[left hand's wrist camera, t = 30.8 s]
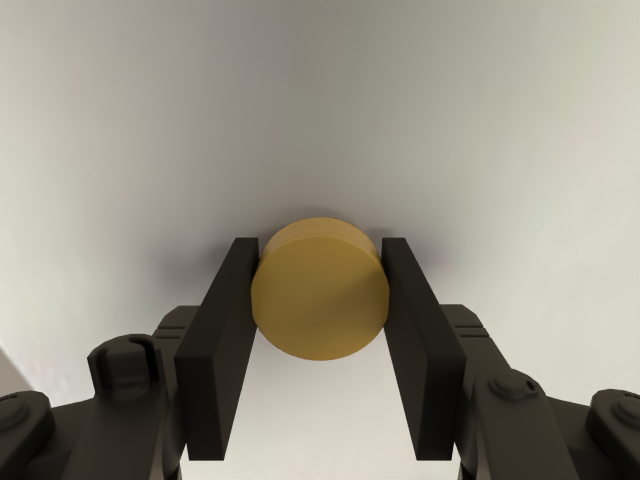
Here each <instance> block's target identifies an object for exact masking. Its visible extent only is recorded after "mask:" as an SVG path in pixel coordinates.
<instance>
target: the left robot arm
mask: <svg viewBox="0 0 640 480" xmlns="http://www.w3.org/2000/svg"><path fill="white" fill-rule="evenodd" d="M381 261H382V264H383V267H384V270H385V273H386V276H387V279H388V282H389V286H390V291H389V306H388V317H387V320H386V322H385V324H384V326H383V328H384V332H385V336H386V340H387V344H388V348H389V352H390V356H391V360H392V364H393V368H394V372H395V376H396V380H397V384H398V388H399V391H400V395H401V399H402V403H403V407H404V411H405V415H406V419H407V423H408V427H409V431H410V435H411V439H412V443H413V447H414V451H415V455H416V459H417V461H451V460H452V453H453V446H454V441H455V444H456V447H457V450H458V452H459V455H460V458H461V462H460V468H459V474H458V480H640V395H638V394H635V393H631V392H628V391H625V390H616V389H606V390H601V391H598V392H597V393H596V394H595V395H593V397H592V400H591V403H590V406H586V405H581V404H577V403H572V402H567V401H563V400H559V399H555V398H552V397H548V396H546V394H545V392H544V391H543V389H542V388H541V386H540V385H539V383H537V382H536V381H535V380H533V379H532V378H531V377H530V376H528V375H526V374H524V373H522V372H520V371H518V370H515V369H511V367H510V366H509V364H508V363H507V361H506V360H505V358H504V357H503V355H502V354H501V352H500V351H499V349H498V348H497V346H496V344H495V343H494V341H493V340H492V338H490V337H489V334H488V332H487V331H486V329H485V328H483V325H482V323H481V322H480V320H479V318H478V317H477V315H476V314H475V313H473V312H472V311H470V310H469V309H468V308H466V307H465V306H463V305H462V304H439V303H438V301H437V299H436V297H435V295H434V293H433V291H432V289H431V287H430V285H429V283H428V282H427V280H426V278H425V276H424V274H423V272H422V270H421V268H420V266H419V264H418V262H417V261H416V259H415V257H414V255H413V253H412V251H411V249H410V247H409V245H408V243H407V241H406V239H405V238H382V254H381ZM258 262H259V246H258V238H235V240H234V242H233V244H232V246H231V248H230V250H229V252H228V254H227V256H226V258H225V260H224V261H223V263H222V265H221V267H220V269H219V271H218V273H217V275H216V277H215V279H214V281H213V282H212V284H211V286H210V288H209V290H208V292H207V294H206V296H205V298H204V300H203V302H202V304H201V305H200V306H178V307H176V308H175V309H173V310H172V311H171V312H169V313H168V314H166V315H165V316H164V318H163V319H162V321H161V322H160V324H159V326H158V328H157V329H156V330H155V332H154V333H153V335H152V336H150V335H146V334H129V335H124V336H119V337H116V338H113V339H111V340H108V341H106V342H104V343H102V344H101V345H99V346H98V347H96V348H95V349H94V350H93V351H92V352H91V353H90V355H89V356H88V357H87V360H88V364H89V369H90V373H91V377H92V381H93V385H94V389H95V395H94V398H91V399H88V400H85V401H81V402H76V403H72V404H67V405H63V406H58V407H54V408H51V405H50V401H49V398H48V397H47V396H46V395H45V394H43V393H42V392H37V391H23V392H16V393H13V394H9V395H6V396H3V397H0V480H182V475H181V468H180V462H179V461H180V459H181V456H182V453H183V450H184V448H185V445H186V443H187V450H188V456H189V461H224V457H225V453H226V449H227V445H228V441H229V437H230V433H231V429H232V425H233V421H234V417H235V413H236V409H237V405H238V401H239V397H240V393H241V389H242V385H243V381H244V377H245V373H246V369H247V365H248V361H249V357H250V353H251V349H252V345H253V341H254V337H255V333H256V329H257V325H256V323H255V321H254V318H253V314H252V299H251V284H252V280H253V277H254V274H255V271H256V268H257V265H258Z"/></svg>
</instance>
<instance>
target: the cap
mask: <svg viewBox="0 0 640 480" xmlns="http://www.w3.org/2000/svg"><path fill="white" fill-rule="evenodd" d="M389 291H390V286H389V282H388V279H387V276H386V273H385V270H384V267H383V264H382V261H381V258H380V255H379V253H378V251H377V249H376V247H375V245H374V244H373V243H372V241H371V240H370V239H369V238H368V237H367V236H366V235H365V234H364V233H363V232H362V231H361V230H359V229H358V228H357V227H355V226H353V225H351V224H349V223H347V222H344V221H342V220H338V219H334V218H327V217H313V218H306V219H302V220H299V221H296V222H294V223H291V224H289V225H287V226H286V227H284V228H282V229H281V230H280V231H278V232H277V233H276V234H275V235H274V236H273V237H272V238H271V239H270V241H269V242H268V243H267V244H266V246H265V248H264V250H263V252H262V254H261V257H260V259H259V262H258V265H257V268H256V271H255V274H254V277H253V280H252V284H251V299H252V314H253V318H254V321H255V323H256V325H257V327H258V328H259V330H260V331H261V333H262V334H263V335H264V337H265V338H266V339H267V340H268V341H269V342H271V343H272V344H273V345H274V346H275V347H277V348H279V349H280V350H282V351H283V352H286V353H288V354H290V355H292V356H295V357H298V358H302V359H307V360H316V361H325V360H334V359H338V358H342V357H345V356H348V355H351V354H353V353H355V352H357V351H359V350H360V349H362V348H363V347H365V346H366V345H367V344H369V343H370V342H371V341H372V340H373V339H374V338H375V337H376V336H377V335H378V333H379V332H380V331H381V329H382V328H383V326H384V324H385V322H386V320H387V317H388V306H389Z"/></svg>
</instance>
